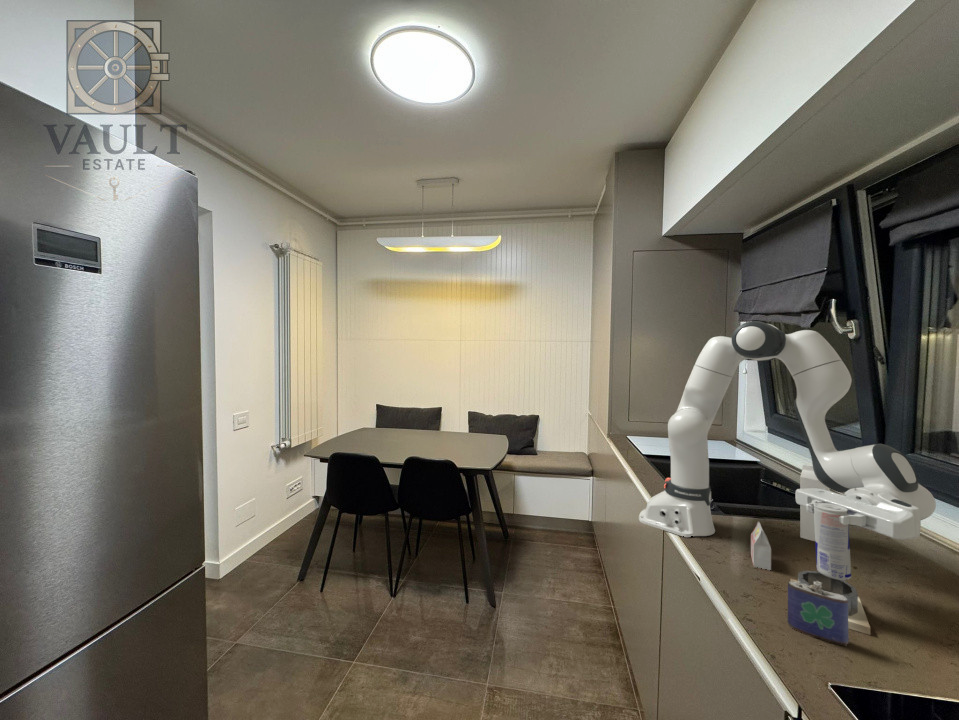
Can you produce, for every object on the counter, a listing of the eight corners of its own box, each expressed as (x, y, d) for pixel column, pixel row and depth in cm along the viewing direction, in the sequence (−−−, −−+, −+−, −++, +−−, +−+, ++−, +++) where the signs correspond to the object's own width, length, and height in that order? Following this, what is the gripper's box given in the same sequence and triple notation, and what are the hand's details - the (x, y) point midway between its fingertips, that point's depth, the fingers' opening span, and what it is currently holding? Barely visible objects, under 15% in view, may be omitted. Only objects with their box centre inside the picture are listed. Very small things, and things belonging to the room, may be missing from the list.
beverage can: (859, 581, 80) (855, 510, 81) (831, 582, 81) (828, 511, 81) (835, 568, 86) (832, 501, 87) (810, 568, 86) (806, 502, 87)
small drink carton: (767, 558, 105) (767, 522, 105) (771, 570, 99) (771, 532, 99) (750, 555, 107) (750, 520, 107) (753, 566, 101) (753, 529, 101)
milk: (826, 545, 112) (826, 471, 112) (799, 537, 117) (800, 466, 116) (829, 538, 116) (830, 467, 116) (804, 531, 121) (804, 462, 120)
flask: (847, 641, 74) (847, 586, 74) (849, 650, 72) (849, 594, 72) (787, 620, 80) (787, 570, 80) (787, 628, 78) (787, 577, 78)
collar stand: (792, 611, 83) (792, 586, 83) (790, 584, 93) (790, 562, 93) (870, 635, 76) (870, 608, 76) (859, 603, 85) (859, 579, 85)
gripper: (819, 479, 97) (776, 484, 94) (929, 511, 77) (881, 518, 74) (819, 504, 97) (777, 509, 94) (930, 541, 77) (881, 550, 74)
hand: (823, 514), depth 84 cm, fingers closed on beverage can, 5 cm apart
